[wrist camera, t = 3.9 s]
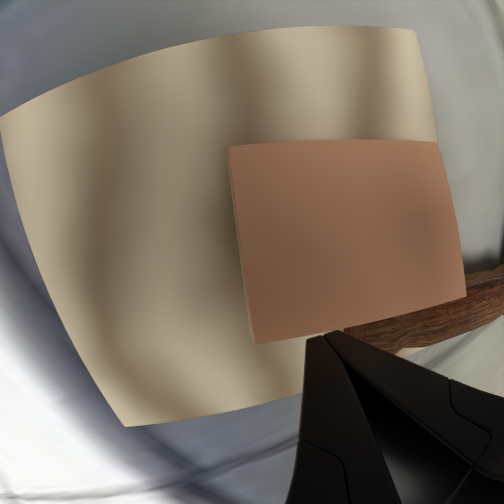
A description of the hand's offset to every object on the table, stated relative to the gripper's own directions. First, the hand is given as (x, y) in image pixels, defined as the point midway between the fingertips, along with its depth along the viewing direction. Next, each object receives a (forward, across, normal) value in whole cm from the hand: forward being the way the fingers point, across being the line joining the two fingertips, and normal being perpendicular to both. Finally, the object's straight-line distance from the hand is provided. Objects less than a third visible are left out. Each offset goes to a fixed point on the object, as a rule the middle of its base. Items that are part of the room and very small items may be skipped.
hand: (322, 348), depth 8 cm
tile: (+6, +1, -1) cm, 6 cm away
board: (+9, 0, 0) cm, 9 cm away
